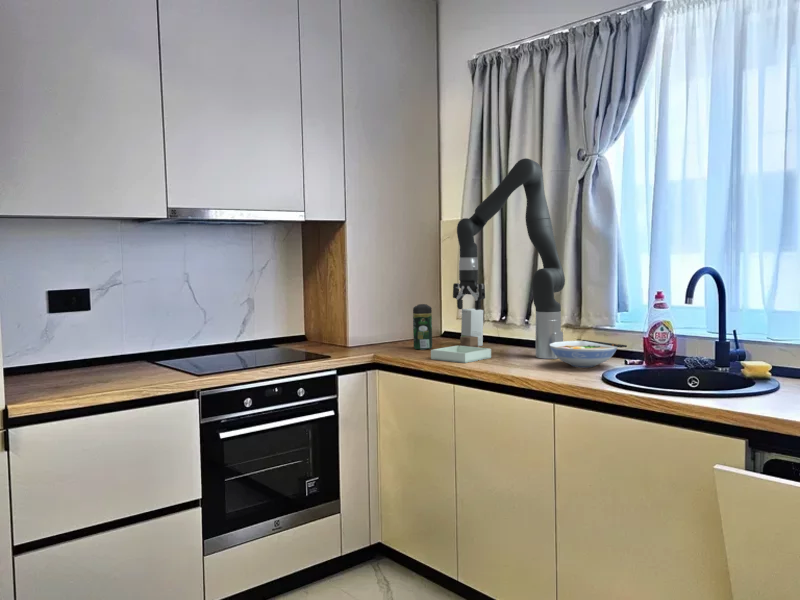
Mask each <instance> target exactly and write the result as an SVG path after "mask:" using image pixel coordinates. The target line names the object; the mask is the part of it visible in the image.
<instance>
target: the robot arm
mask: <svg viewBox="0 0 800 600" xmlns="http://www.w3.org/2000/svg"><path fill="white" fill-rule="evenodd" d="M521 186H523V189H524V193H525V198H526V205H525V206H526V209H525V225H526V230H527V236H528V238H529V240H530V242H531V244H532V245H533V247H534V248H535V250H536V252H537V253H538V254H539V257H540V258H541V262H542V266H543V267H542V268H539V269H537V270H536V271H535V272H534V273H533V274H534V275H533V277H532V298H533V299H532V300H533V301H532V303H533V305H534V306H535V358H537V359H551V360H553V359H555V360H556V359H558V358H557V357H556V355H555V354H554V353H553V351H552V349H551V347H550V344H551V343H554V342H563V341H564V332H563V331H562V305H561V304H560V302H558V301H557V300H556V299H555V293H559V292H561V291H562V290H563V288H564V287H565V285H566V277H565V273H564V269H563V267H562V264H561V259H560V257H559V252H558V249H557V245H556V239H555V236H554V231H553V224H552V220H551V219H552V218H551V215H550V210H549V206H548V202H547V199H546V194H545V185H544V173H543V170H542V166H541V165H540V164H539V163H538V162H536V161H535V160H533V159H531V158H530V159H529V158H526V157H525V158H521V159H519V160H518V161H517V162H516V163H515V164H514V165H513V166H512V167H511V169H510V170H509V172H508V173H507V175H506V176H505V177H504V178H503V180H502V181H501V182H500V183H499V184H498V186H497V187H496V188H495V189H493V191H492V192H491V193H490V194H489V195H488V196H487V197H486V198H485V199H484V200H483V201H482V202H480V204H479V205H477V207H476V208H475V209H474V213H473V214H472V215H471V216H470V217H469V218H468V217H465V218H461V219H460V220H459V221H458V223H457V224H456V225H457V226H456V235H457V236H456V237H457V239H458V240H457V241H458V245H459V260H458V261H459V262H458V278H459V279H458V280H459V282H458V283H457V282H456V283H453V286H452V287H453V288H452V298H453V299H456V303H457V305H456V308H457V309H458V310H462V309H464V308H463V307H464V305H463V304H464V303H463V302H464V301H463V298H464V296H466V295H471V296H472V297H473V298H474V300H475V301H474V309H475V310H481V308H482V306H481V304H482V303H481V301H482V300H485V299H486V291H485V289H486V288H485V287H486V286H485V284H484V283H478V280H479V261H478V260H479V259H478V245H477V243H476V242H475V238H474V237H475V236H476V235H478V234H479V233H480V231H482V229H484V227H485V226H486V224H487V223H488V221H490V220H491V219H492V218H494V216H495V215H496V214H498V213H499V212H500V210H502V208H503V206H504V205H505V204H506V202H507V200H508V199H509V197H510V196H511V195H512V194H513V193H514V192H515V191H516V190H517V189H518V188H519V187H521Z"/></svg>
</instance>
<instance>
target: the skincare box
mask: <svg viewBox="0 0 800 600" xmlns="http://www.w3.org/2000/svg"><path fill="white" fill-rule="evenodd" d="M460 324H461V325H460V326H461V332H460V335H461V336H460V337H464V336H474V337H478V347H483V345H484V344H483V341H484V337H483V336H484V309H480V310H475V307H474V308H473V307H472V308H463V309H461V323H460Z"/></svg>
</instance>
